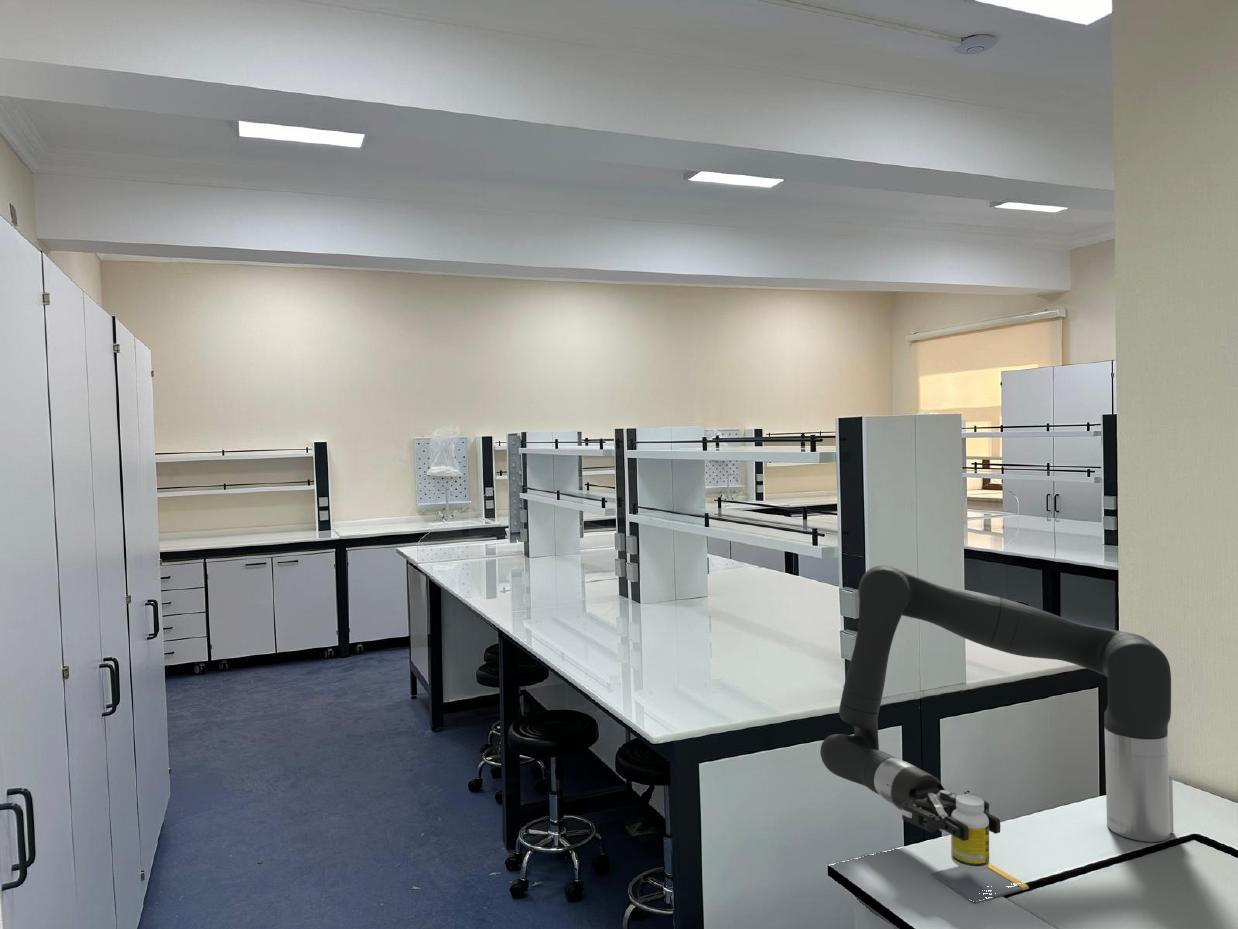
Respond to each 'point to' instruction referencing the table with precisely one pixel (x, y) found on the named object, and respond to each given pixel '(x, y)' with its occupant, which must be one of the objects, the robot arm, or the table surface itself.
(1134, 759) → the robot arm
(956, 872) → the mat
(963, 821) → the supplement bottle
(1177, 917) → the table surface
